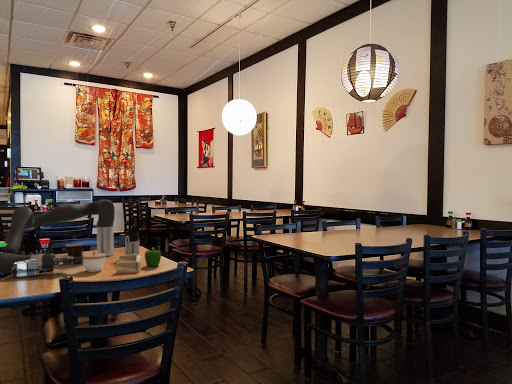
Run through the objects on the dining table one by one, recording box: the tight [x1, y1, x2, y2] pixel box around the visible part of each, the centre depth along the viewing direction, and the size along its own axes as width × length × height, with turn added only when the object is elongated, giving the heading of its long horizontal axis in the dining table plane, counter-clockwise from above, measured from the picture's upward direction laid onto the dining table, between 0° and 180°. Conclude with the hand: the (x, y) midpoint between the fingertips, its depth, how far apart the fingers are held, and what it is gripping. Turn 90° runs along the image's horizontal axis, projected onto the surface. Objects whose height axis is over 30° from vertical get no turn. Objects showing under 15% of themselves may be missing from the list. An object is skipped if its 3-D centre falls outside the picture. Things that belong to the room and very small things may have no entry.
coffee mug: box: [65, 243, 85, 265], centre depth 203 cm, size 12×9×10 cm
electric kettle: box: [124, 230, 140, 255], centre depth 216 cm, size 9×14×15 cm, turn 178°
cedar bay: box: [115, 253, 142, 274], centre depth 193 cm, size 20×11×5 cm, turn 16°
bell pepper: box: [144, 246, 162, 267], centre depth 198 cm, size 8×8×10 cm
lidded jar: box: [82, 251, 107, 273], centre depth 187 cm, size 11×11×9 cm
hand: (82, 259), depth 185 cm, fingers closed
